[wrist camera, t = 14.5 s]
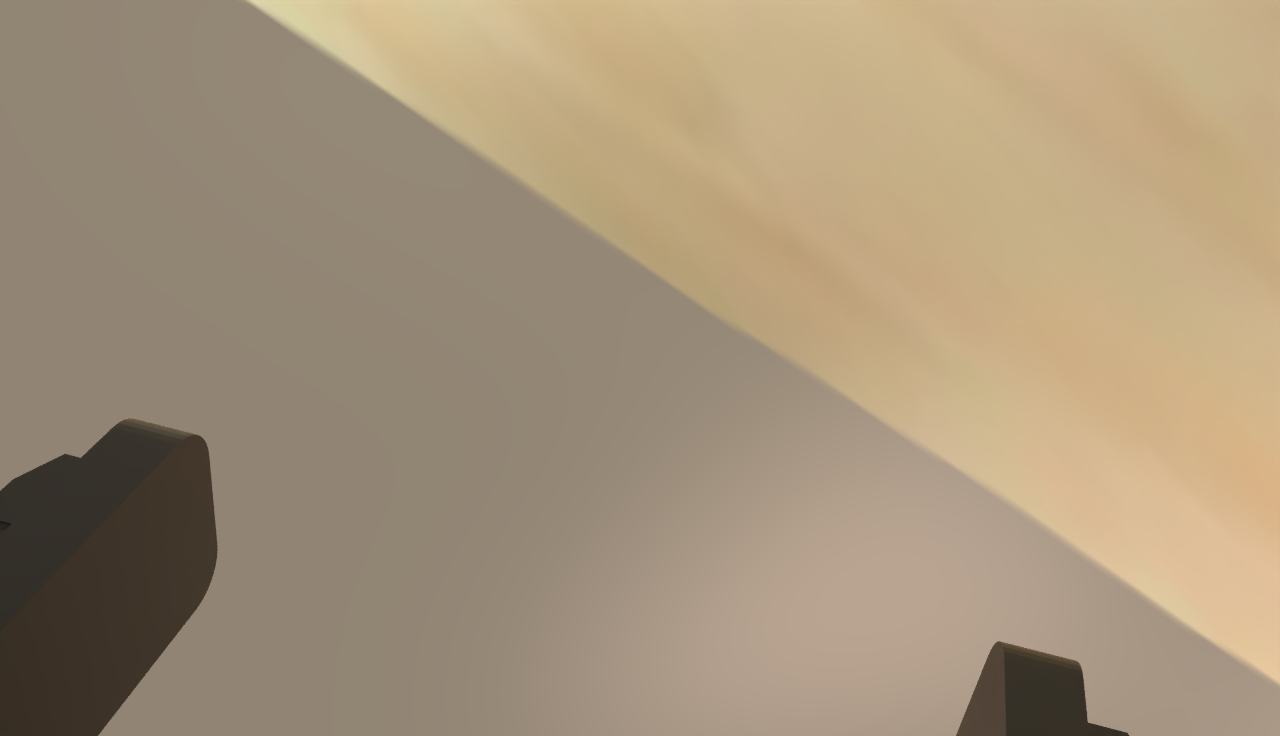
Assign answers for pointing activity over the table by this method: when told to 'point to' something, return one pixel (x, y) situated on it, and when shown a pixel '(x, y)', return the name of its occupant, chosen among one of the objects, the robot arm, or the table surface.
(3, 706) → the robot arm
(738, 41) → the table surface
